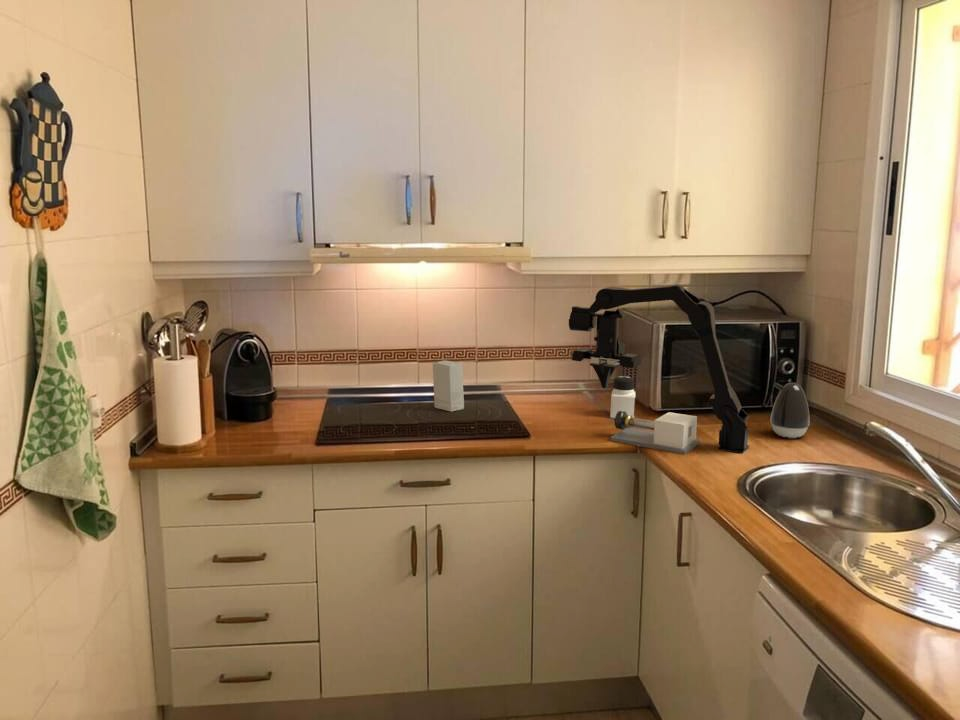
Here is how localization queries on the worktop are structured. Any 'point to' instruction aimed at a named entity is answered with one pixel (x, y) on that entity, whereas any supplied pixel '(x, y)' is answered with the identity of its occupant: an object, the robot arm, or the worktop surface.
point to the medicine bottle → (623, 396)
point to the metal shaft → (632, 421)
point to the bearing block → (664, 434)
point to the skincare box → (448, 385)
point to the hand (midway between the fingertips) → (604, 387)
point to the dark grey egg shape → (790, 411)
